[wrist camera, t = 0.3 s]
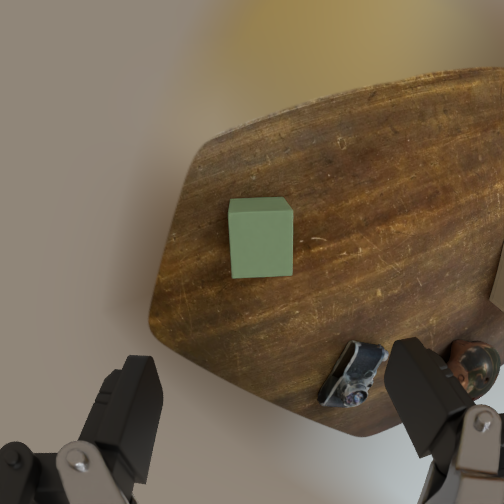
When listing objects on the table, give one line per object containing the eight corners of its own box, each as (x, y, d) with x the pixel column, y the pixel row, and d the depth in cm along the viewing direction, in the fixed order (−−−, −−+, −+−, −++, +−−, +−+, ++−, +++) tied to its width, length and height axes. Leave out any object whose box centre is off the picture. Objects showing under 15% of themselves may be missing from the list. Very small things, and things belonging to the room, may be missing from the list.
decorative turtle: (433, 330, 32) (470, 367, 24) (494, 326, 34) (526, 352, 27) (404, 389, 35) (432, 428, 27) (469, 376, 37) (495, 404, 29)
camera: (387, 340, 32) (401, 363, 28) (347, 399, 35) (355, 423, 31) (352, 334, 31) (365, 358, 27) (314, 396, 34) (320, 421, 30)
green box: (230, 198, 25) (227, 212, 21) (283, 196, 25) (293, 210, 21) (233, 254, 27) (231, 278, 22) (283, 251, 27) (292, 275, 23)
